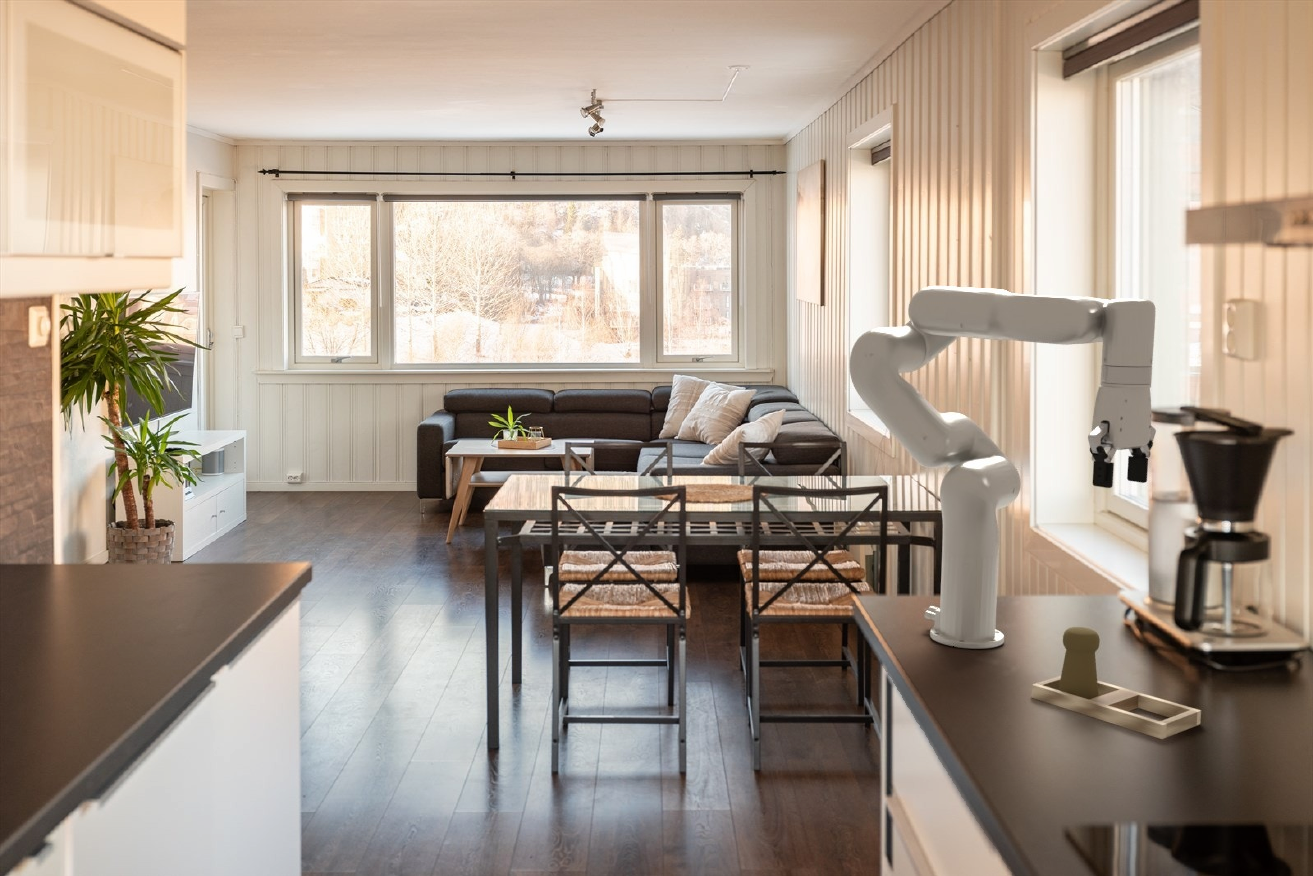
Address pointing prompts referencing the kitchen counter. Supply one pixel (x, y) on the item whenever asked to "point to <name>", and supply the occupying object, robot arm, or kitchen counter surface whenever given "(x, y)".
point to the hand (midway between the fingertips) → (1119, 484)
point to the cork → (1080, 663)
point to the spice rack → (1122, 708)
